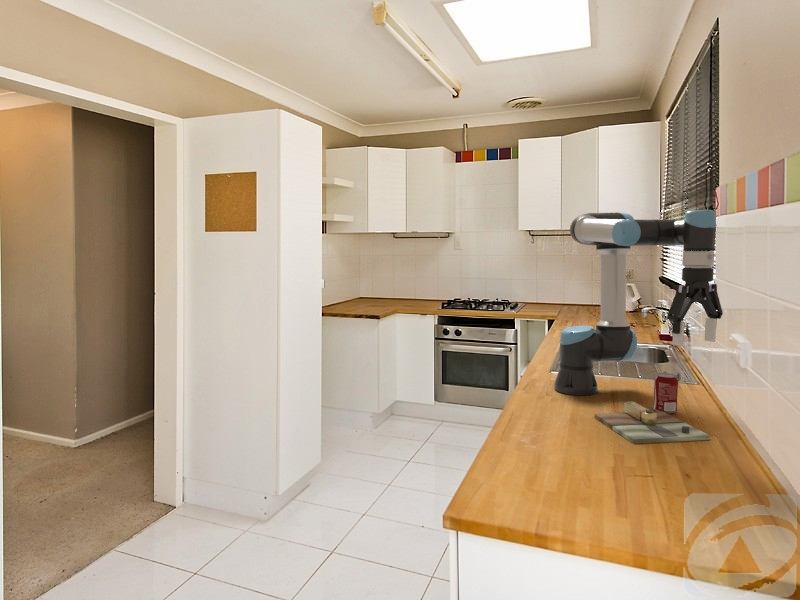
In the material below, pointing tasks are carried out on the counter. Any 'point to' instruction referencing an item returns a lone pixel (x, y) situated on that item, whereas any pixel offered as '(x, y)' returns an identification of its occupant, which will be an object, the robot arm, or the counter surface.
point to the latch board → (651, 428)
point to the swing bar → (640, 413)
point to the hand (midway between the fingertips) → (694, 343)
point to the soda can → (665, 393)
